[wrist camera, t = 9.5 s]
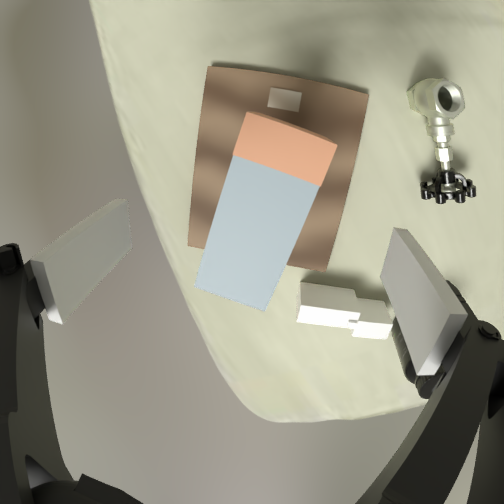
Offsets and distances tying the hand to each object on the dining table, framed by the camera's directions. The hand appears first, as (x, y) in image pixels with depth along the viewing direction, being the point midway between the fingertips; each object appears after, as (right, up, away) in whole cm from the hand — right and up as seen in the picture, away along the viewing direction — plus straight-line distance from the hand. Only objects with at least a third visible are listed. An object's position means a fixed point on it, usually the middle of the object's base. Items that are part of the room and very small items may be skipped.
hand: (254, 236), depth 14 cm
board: (+2, +8, +17) cm, 19 cm away
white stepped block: (+11, -7, +24) cm, 27 cm away
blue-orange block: (+1, +4, +8) cm, 9 cm away
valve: (+19, +12, +13) cm, 26 cm away
